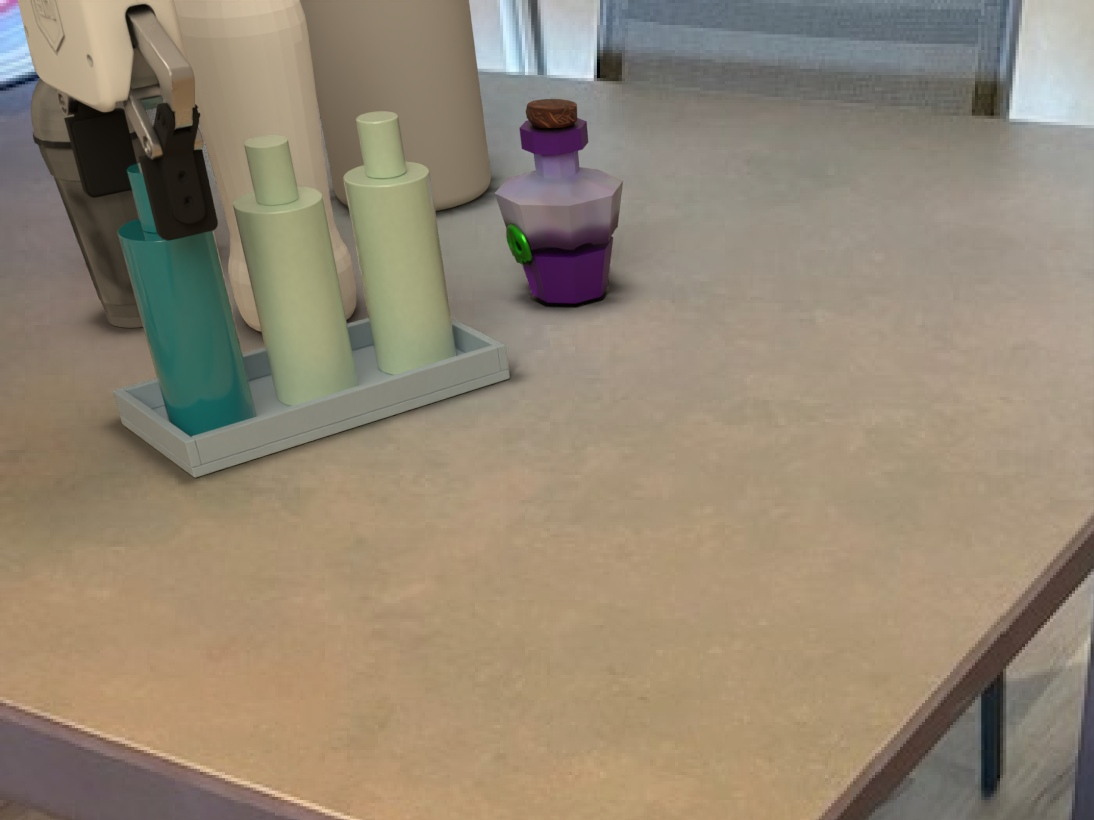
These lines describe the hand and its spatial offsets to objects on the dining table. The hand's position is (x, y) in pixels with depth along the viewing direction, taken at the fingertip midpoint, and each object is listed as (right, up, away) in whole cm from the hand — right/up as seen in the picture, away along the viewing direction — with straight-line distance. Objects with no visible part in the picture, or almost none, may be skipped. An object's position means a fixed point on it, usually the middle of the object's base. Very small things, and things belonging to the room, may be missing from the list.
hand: (150, 212), depth 89 cm
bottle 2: (+6, -6, +11) cm, 14 cm away
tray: (+6, -6, +11) cm, 14 cm away
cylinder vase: (+6, +22, +43) cm, 48 cm away
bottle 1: (+2, +3, +23) cm, 23 cm away
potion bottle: (+20, +6, +24) cm, 32 cm away
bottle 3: (+12, -3, +14) cm, 19 cm away
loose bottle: (+1, -9, +8) cm, 12 cm away
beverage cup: (-9, +4, +24) cm, 26 cm away
